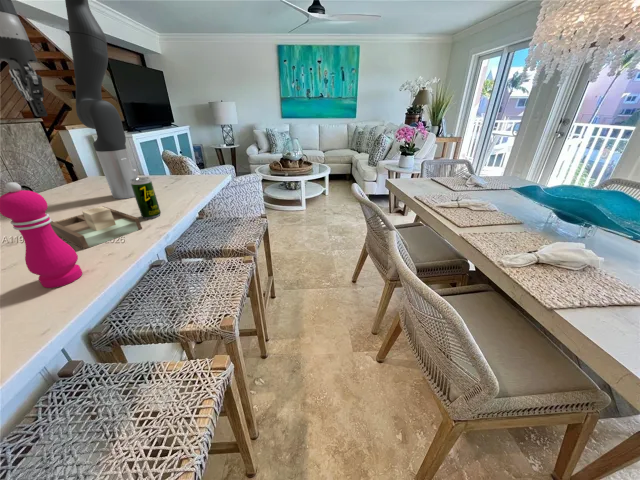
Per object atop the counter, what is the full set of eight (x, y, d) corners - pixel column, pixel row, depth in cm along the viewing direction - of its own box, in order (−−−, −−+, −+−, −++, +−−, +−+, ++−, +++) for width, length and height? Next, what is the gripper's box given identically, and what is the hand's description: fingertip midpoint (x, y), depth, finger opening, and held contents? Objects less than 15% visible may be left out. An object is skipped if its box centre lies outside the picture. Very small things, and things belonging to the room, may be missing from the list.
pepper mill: (58, 270, 57) (8, 177, 48) (94, 268, 57) (50, 176, 48) (28, 291, 50) (-37, 188, 41) (68, 288, 51) (13, 187, 42)
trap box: (106, 215, 85) (102, 206, 83) (142, 228, 76) (138, 218, 74) (50, 232, 74) (45, 221, 72) (84, 249, 65) (78, 237, 63)
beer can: (138, 218, 83) (125, 180, 77) (152, 212, 87) (141, 176, 82) (151, 220, 81) (139, 181, 76) (165, 214, 86) (154, 177, 80)
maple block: (107, 221, 74) (101, 206, 72) (115, 224, 72) (109, 209, 70) (88, 227, 71) (82, 211, 69) (97, 230, 69) (90, 214, 67)
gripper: (38, 37, 64) (69, 116, 72) (19, 43, 70) (49, 115, 78) (-6, 31, 58) (33, 117, 66) (-24, 38, 64) (14, 116, 72)
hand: (42, 116), depth 72 cm, fingers closed
